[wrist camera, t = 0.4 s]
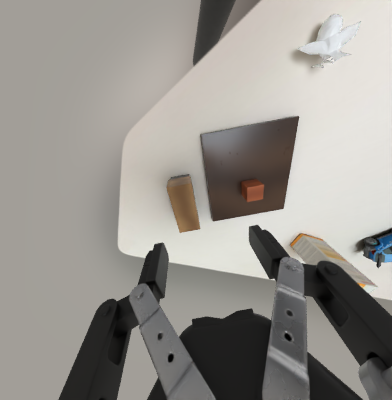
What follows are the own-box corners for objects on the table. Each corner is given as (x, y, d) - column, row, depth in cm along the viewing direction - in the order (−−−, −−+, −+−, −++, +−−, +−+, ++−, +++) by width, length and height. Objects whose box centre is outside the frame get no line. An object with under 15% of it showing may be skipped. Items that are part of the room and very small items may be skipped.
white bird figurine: (359, 0, 17) (403, -9, 14) (340, 52, 21) (372, 55, 18) (293, 29, 18) (321, 27, 15) (285, 75, 21) (307, 81, 18)
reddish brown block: (241, 181, 27) (247, 187, 25) (256, 178, 27) (264, 184, 24) (241, 194, 29) (247, 202, 26) (255, 192, 29) (263, 199, 26)
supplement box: (288, 245, 39) (332, 295, 28) (300, 232, 37) (353, 281, 25) (310, 251, 41) (359, 300, 29) (322, 239, 39) (380, 288, 27)
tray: (200, 134, 24) (201, 134, 23) (294, 116, 23) (299, 116, 22) (212, 218, 32) (212, 221, 31) (280, 206, 32) (283, 208, 31)
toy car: (400, 236, 41) (430, 251, 36) (356, 252, 43) (378, 269, 38) (403, 222, 38) (436, 237, 33) (356, 241, 40) (380, 258, 35)
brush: (180, 216, 32) (179, 232, 27) (169, 176, 27) (166, 187, 22) (197, 213, 31) (200, 229, 27) (189, 172, 27) (191, 183, 22)
